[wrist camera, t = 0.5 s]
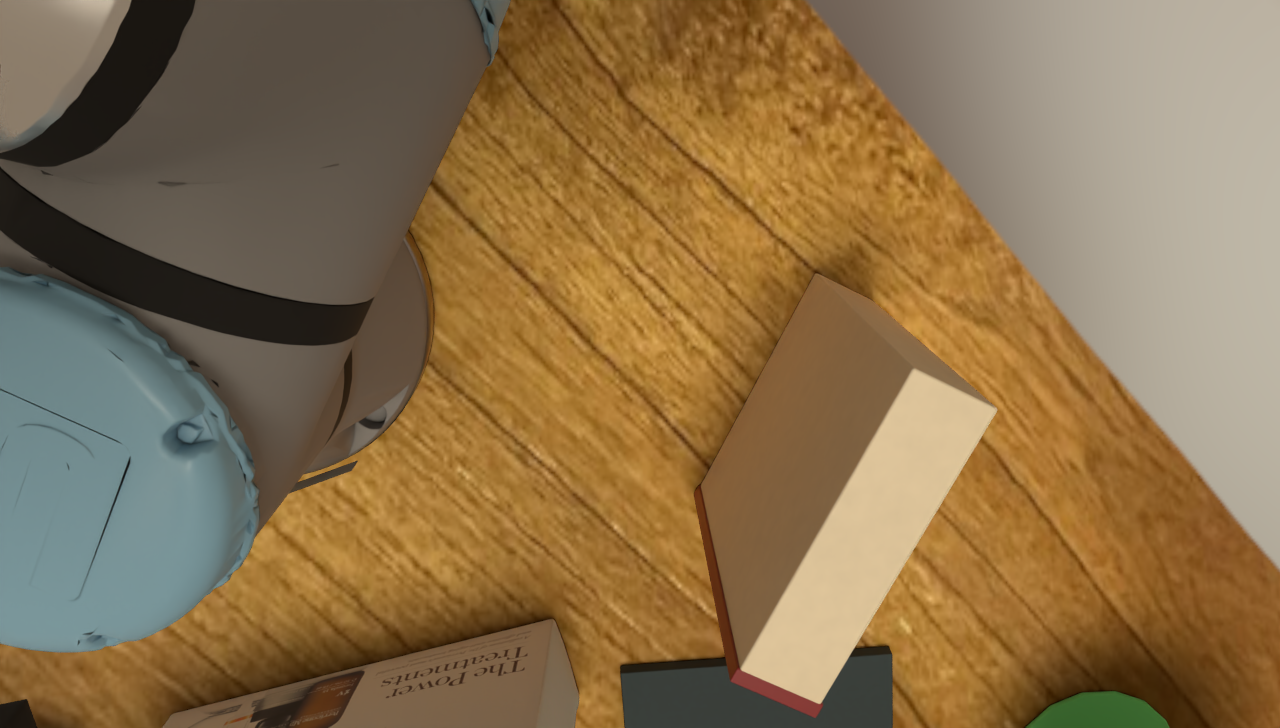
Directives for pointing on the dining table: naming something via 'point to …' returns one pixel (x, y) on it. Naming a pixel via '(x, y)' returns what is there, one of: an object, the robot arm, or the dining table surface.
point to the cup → (1100, 712)
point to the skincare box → (421, 690)
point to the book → (828, 489)
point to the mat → (753, 696)
